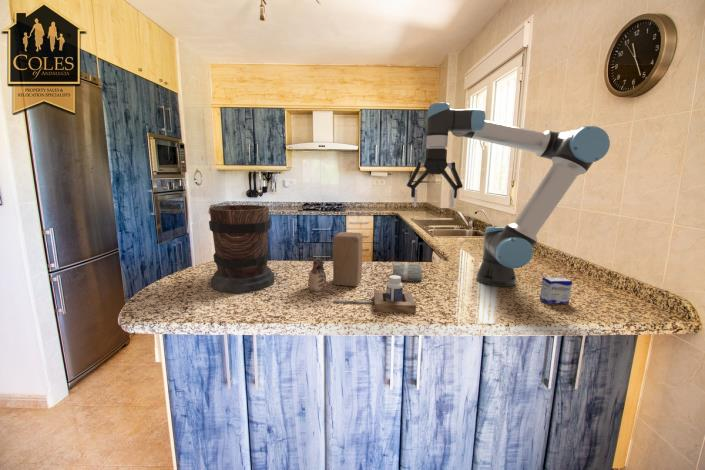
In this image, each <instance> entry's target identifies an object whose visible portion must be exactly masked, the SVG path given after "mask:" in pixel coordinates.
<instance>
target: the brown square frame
mask: <svg viewBox="0 0 705 470" xmlns="http://www.w3.org/2000/svg"><path fill="white" fill-rule="evenodd" d="M386 291H387V289H386V290H383V289H374V293H373V298H374V299H373V300H374V301H372V300H371V301H370V300H365V301H364V300H345V299H344V300H341V299H340V300H339V299H335V300H334V299H333V304H334V303H335V304H337V303H338V304H358V303H360V304H364V305H366V304H367V305H374V312H378V313H379V312H382V313H406V314H407V313H408V314H409V313H410V314H416V313H417V305H416V302H415V299H414V296H413V292H412V291H411V290H403V292H402V302H393V301H386Z"/></svg>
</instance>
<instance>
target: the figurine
mask: <svg viewBox="0 0 705 470" xmlns="http://www.w3.org/2000/svg"><path fill="white" fill-rule="evenodd" d="M312 263H313V264H312V269H311V270H310V272H309V273H308V274H309V275H308V283H307V288H308V290H309V291H311V292H316V293H317V292H324V291H326V290H327V289H328V283H327V275H326V272H325V269H326V268H324V260H322V258H320V257H319V258H318V257H316V258H314V259H313V261H312Z"/></svg>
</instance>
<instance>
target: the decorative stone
mask: <svg viewBox="0 0 705 470" xmlns="http://www.w3.org/2000/svg"><path fill="white" fill-rule="evenodd" d="M392 275H397V276H400V277H401V281H406V282H420V281H421V280H422V279H423V268H422V266H421V265H420V264H416V263H401V262H392Z"/></svg>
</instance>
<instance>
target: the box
mask: <svg viewBox="0 0 705 470" xmlns="http://www.w3.org/2000/svg"><path fill="white" fill-rule="evenodd" d="M572 285H573V281H572V280H570V279H568V278H566V277H561V276H559V277H558V276H555V277H550V276H549V277H547V276H544V277H542V280H541V288H540V294H539V295H540V296H539V300H540V301H541V302H543V303H545V304H547V305H569V304H570V298H571V292H572V287H573V286H572Z"/></svg>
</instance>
